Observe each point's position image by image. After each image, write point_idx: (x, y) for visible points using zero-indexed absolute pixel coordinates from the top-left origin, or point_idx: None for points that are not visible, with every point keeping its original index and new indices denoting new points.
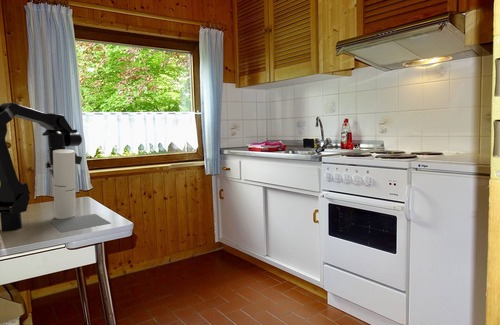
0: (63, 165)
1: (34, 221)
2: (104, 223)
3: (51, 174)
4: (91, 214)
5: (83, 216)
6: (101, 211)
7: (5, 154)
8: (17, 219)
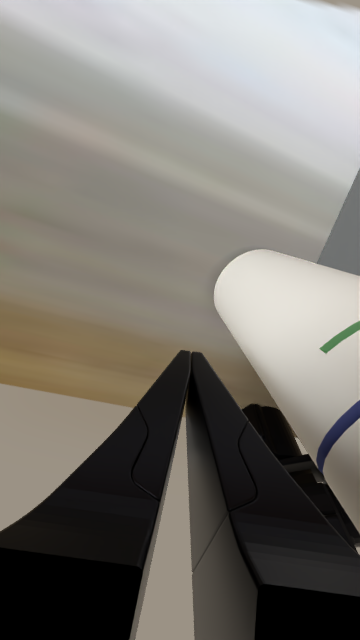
0: None
1: (228, 374)
2: None
3: (112, 571)
4: (355, 188)
5: (349, 239)
6: (343, 86)
7: None
8: (296, 442)
